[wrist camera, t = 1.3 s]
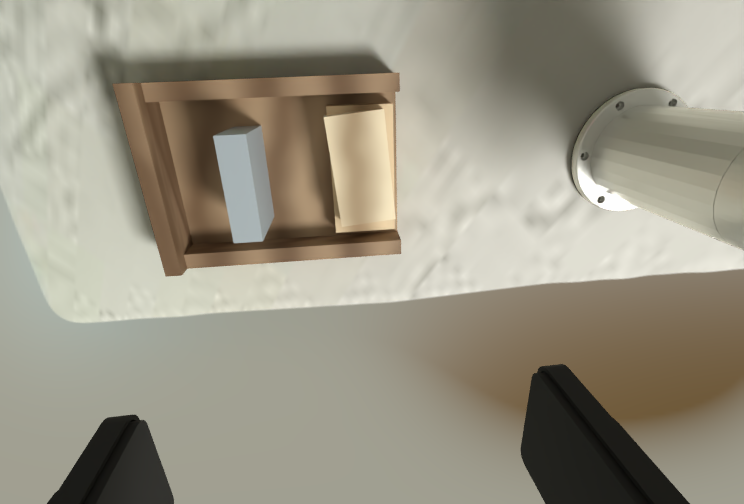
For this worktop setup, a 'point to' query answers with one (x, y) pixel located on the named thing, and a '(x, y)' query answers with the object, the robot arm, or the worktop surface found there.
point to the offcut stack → (362, 165)
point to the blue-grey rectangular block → (245, 182)
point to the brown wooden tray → (283, 155)
